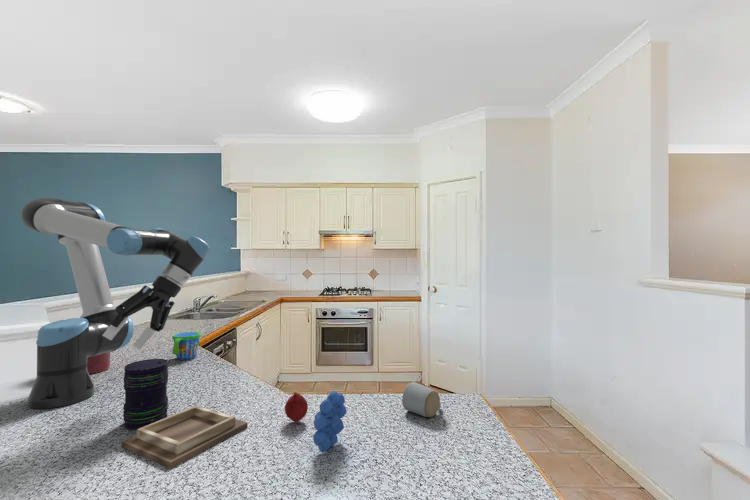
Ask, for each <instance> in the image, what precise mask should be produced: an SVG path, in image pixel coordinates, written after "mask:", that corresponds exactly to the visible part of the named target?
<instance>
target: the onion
mask: <svg viewBox="0 0 750 500" xmlns="http://www.w3.org/2000/svg"><path fill="white" fill-rule="evenodd" d="M307 401H308V400H306V398H305V397H304V396H303V395H302V394H300V393H299V392H298V391H297V390H294V391H293V394H292V395H291V396H289V398H288V399H287V401H286V403H285V406H284V413H285V415H286V417H287V418H288V419H290V420H291V421H292V422H294V423H298V422H299V421H301V420H302V419H303V418H305V417H306V416H307V413H308V409H309V408H308V407H309V404H308V402H307Z"/></svg>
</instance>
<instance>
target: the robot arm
mask: <svg viewBox="0 0 750 500" xmlns="http://www.w3.org/2000/svg"><path fill="white" fill-rule="evenodd" d="M20 219H21V222H22V223H23V225H25V227H26V228H28V229H29V230H31V231H34V232H36V233H40V234H45V235H57V239H58V242H59V243H60V244H61V245H64V246H65V247H66V250H67V255H68V259H69V263H70V266H71V269H72V274H73V278H74V283H75V287H76V290H77V293H78V298H79V302H80V305H81V310H82V314H81V315H80V317H75V318H74V317H72V318H67V319H62V320H56V321H53V322H50V323H47V324H45V325H43V326H41V327H40V328H39V329H38V331H37V337H36V343H35V344H36V349H37V350H36V378H35V381H34V383H33V385H32V389H31V390H30V393H29V396H28V398H27V406H28V408H30V409H33V410H35V409H36V410H37V409H38V410H39V409H40V410H43V409H44V410H46V409H53V408H60V407H64V406H68V405H73V404H77V403H79V402H82V401H85V400H87V399H90V398H91V397H92V396H94V394H95V385H94V382H93V380H92V378H91V374H89V372H88V370H87V358H88V357H92V356H96V355H100V354H103V353H107V352H110V353H112V352H115V351H117V350H120V349H122V348H124V347H126V346H127V345H128V344H129V343H130V342H131V339H132V338H133V337H134V331H135V325H134V322H133V319H131V318H130V316H132V315H134V314H136V313H138V312H139V311H141V310H143V309H145V308H149V307H150V308H151V310H152V311H151V312H152V313H151V318H150V325H149V326H146V328H145V329H144V330H143V331H142V332H141V334H140V335H139V337H138V338H137V339H136V341H135V342H134V343H133V344H132V346H133V347H135V348H137V349H138V350H142V349H143V348H144V347H145V346H146V344H147V343H148V342H149V340H150V339H151V337H153V335H154V334H155V332H159V333H160V332H161V331H163V330H164V328H165V325H166V323H167V320H168V317H169V315H170V312H171V310H172V308H173V307H174V305H175V302H174V301H173V300H171V298H175V297H176V296H177V295H178V294H179V293H180V291H181V290H182V287H184V286H185V284H186V283H187V282H188V281H189V279H190V277H191V276H192V275H193V274H194V272H195V271H196V270H197V269H198V267H199V266H200V265H201V264H202V262H203V261H205V259H206V257H207V255H208V254H209V252H210V251H211V247H210V245H209V244H208V243H207V242H206V241H204V240H202V239H201V238H200V237H197V236H194V235H191V236H189V238H187V239H184V238H183V237H180V236H179V235H176V234H175V233H172V231H169V230H168V229H163V228H161V227H155V228H153V229H150V230H144V229H143V230H141V229H136V228H131V227H127V226H124V225H120V224H117V223H113V222H109V221H106V218H105V215H104V213H103V212H102V210H101V209H100V208H99V207H97V206H95V205H93V204H91V203H86V202H83V201H82V202H81V201H71V200H66V199H65V200H64V199H59V198H58V199H57V198H52V197H39V198H34V199H31V200H30V201H28V202H26V203H25V204H24V205H23V207H22V208H21V210H20ZM99 247H102V248H106V249H108V250H110V252H111V253H113V254H115V255H118V256H119V255H120V256H121V255H122V256H127V257H129V256H163V257H165V258H168V259H170V261H169V262H168V264H167V265H166V266H165V267H164V268H163V270H162V271H160V274H161V275H158V276H157V277H156V279H155V280H154V281H153V282H152V284H151V286H152V287H150V286H148V285H143V286H142V288H140V290H139V291H138V292H136V293H135V294H134V295H132V296H130V297H129V298H127V299H126V300H124V301H123V302H121V303H120V304H119V305H115V304H114V300H113V297H112V293H111V289H110V285H109V282H108V278H107V274H106V270H105V266H104V263H103V259H102V256H101V252H100V251H101V250H100V248H99Z"/></svg>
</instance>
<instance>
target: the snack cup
mask: <svg viewBox="0 0 750 500" xmlns="http://www.w3.org/2000/svg"><path fill="white" fill-rule="evenodd" d="M201 336H202V333H200V332H197V331H187V332H186V331H185V332H180V333H176V334H175V333H174V334H173V335H172V336H171V338H172V340H173V347H172V354H173V355H175V358H176V360H180V361H186V360H193V359H194V358H196V357H197V355H198V349H199V346H200V338H201Z"/></svg>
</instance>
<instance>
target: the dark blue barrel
mask: <svg viewBox="0 0 750 500" xmlns="http://www.w3.org/2000/svg"><path fill="white" fill-rule="evenodd" d="M168 365H169V360H167V359H164V358H150V359H142V360H138V361H137V360H136V361H135V362H134V361H133V362H130V363H128V364H126V365H124V367H123V368H124V376H123V390H124V394H125V395H124V404H123V408H122V409H123V411H122V417H123V421H124V422H123V428H124V430H128V431H137V429H139V428H141V427H144V426H146V425H149V424H151V423H154V422H156V421H159V420H161V419H164V418H166V417H168V414H167V413H168V409H169V403H168V402H169V397H168V393H167V391H168V390H167V389H168V388H167V386H168V385H167V384H168V383H169V370H168V369H169V367H168Z"/></svg>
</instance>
